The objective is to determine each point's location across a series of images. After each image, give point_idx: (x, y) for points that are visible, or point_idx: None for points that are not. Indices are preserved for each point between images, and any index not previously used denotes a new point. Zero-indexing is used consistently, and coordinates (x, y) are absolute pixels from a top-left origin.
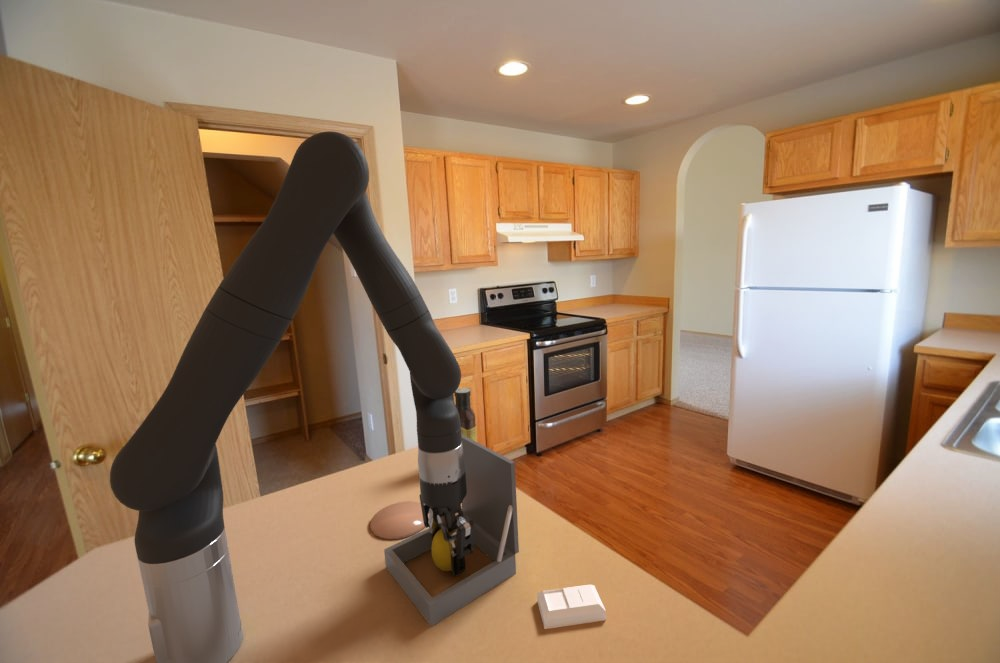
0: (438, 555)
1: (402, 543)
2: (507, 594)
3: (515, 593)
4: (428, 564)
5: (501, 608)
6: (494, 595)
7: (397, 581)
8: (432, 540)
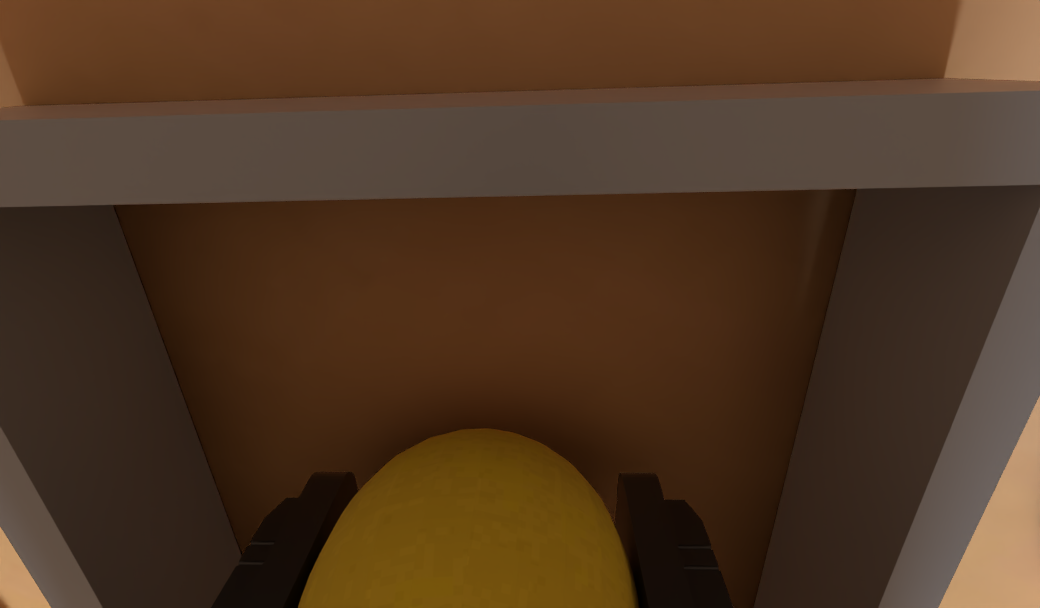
0: (370, 552)
1: (1008, 345)
2: None
3: None
4: (658, 382)
5: None
6: None
7: (662, 87)
8: (687, 597)
